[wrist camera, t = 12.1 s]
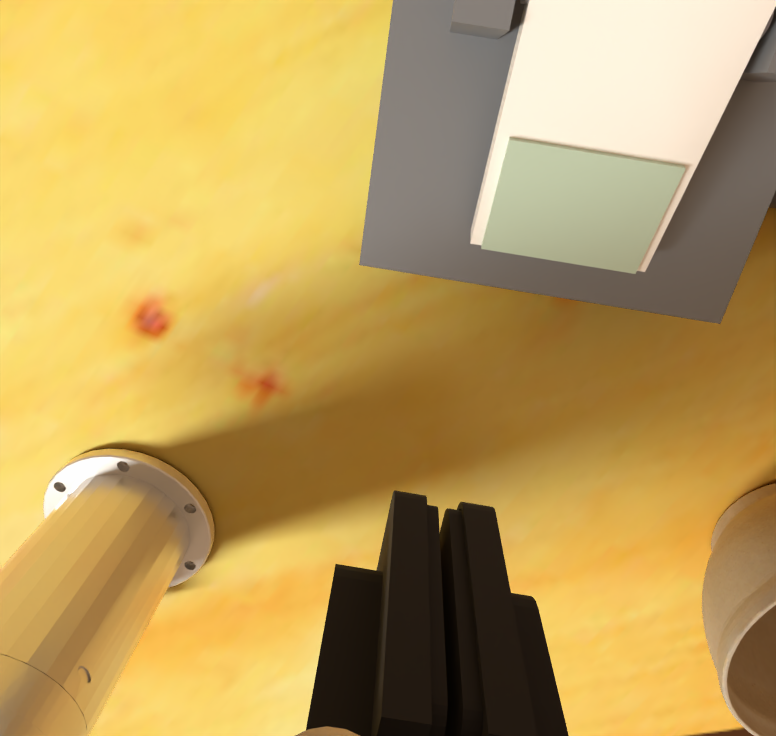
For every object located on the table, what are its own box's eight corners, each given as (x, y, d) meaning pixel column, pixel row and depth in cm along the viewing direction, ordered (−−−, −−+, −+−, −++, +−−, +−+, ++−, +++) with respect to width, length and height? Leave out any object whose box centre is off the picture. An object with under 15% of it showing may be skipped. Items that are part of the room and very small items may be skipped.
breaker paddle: (643, 256, 28) (650, 276, 27) (466, 227, 28) (465, 246, 27) (979, -446, 15) (1025, -470, 13) (636, -500, 15) (650, -530, 13)
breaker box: (825, 311, 35) (976, 399, 25) (371, 236, 35) (345, 296, 25) (1096, -236, 25) (1530, -446, 15) (448, -339, 25) (456, -615, 15)
